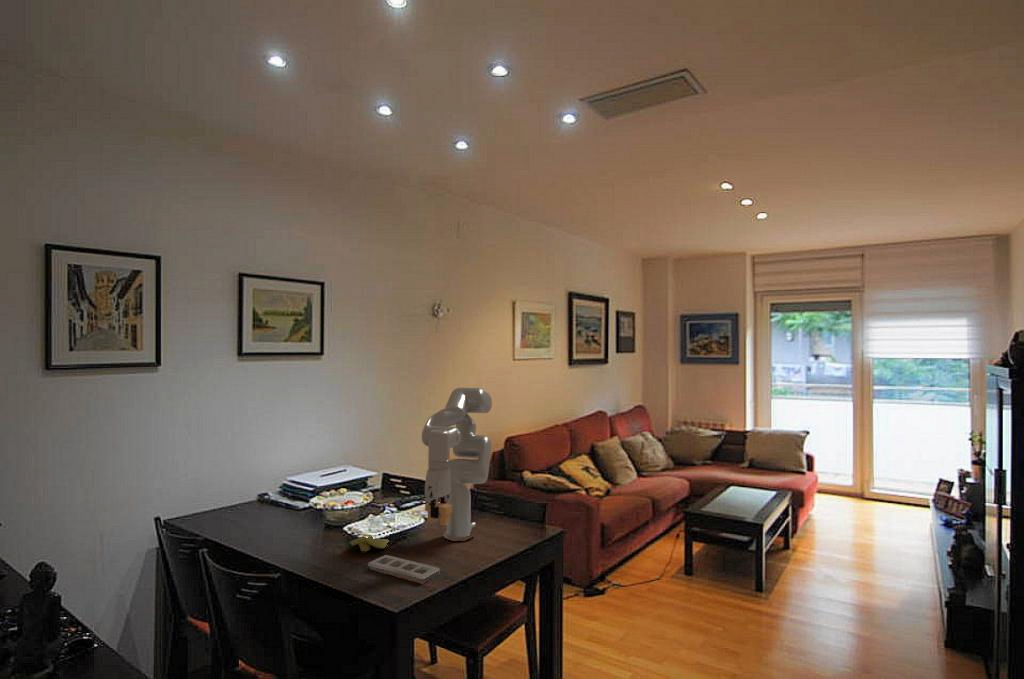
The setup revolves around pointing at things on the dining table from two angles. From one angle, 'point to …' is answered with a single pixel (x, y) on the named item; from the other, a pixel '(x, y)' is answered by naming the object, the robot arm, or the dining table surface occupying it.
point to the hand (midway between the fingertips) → (438, 515)
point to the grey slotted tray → (403, 566)
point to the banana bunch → (370, 542)
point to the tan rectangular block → (443, 511)
